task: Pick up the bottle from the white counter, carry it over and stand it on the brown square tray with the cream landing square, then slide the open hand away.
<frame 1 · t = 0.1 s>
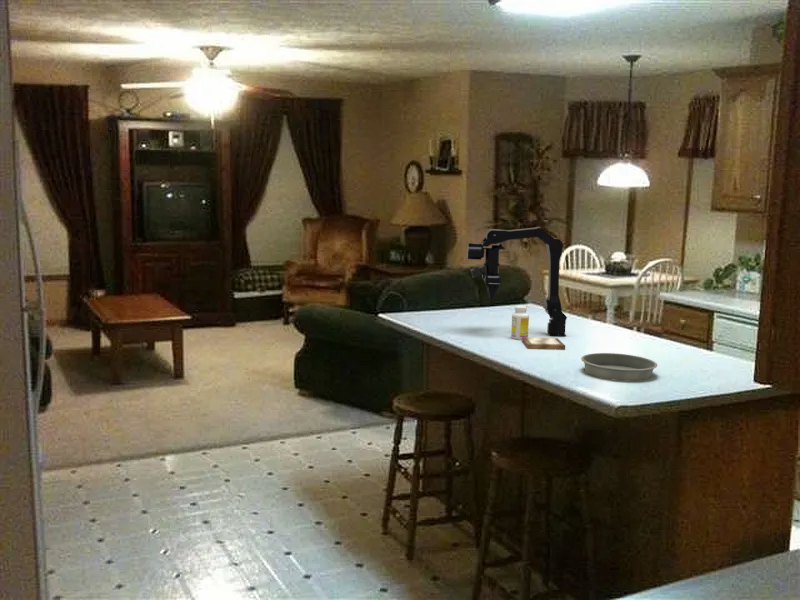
hand: (490, 298, 338), 14 cm above the table, fingers open, 9 cm apart
brown square tray: (543, 345, 318), on the table
supplement bottle: (519, 339, 331), on the table
cake pan: (618, 374, 276), on the table
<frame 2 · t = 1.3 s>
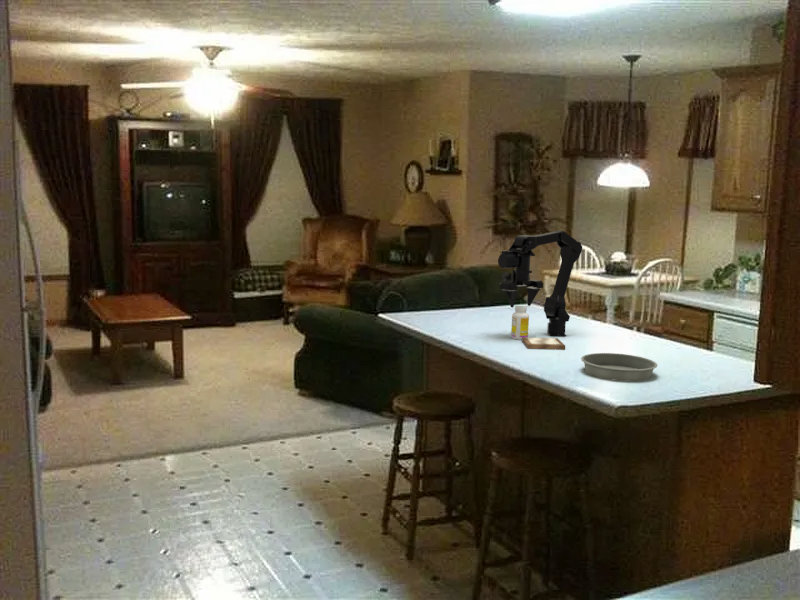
hand: (520, 306, 329), 13 cm above the table, fingers open, 9 cm apart
nothing on the table moved.
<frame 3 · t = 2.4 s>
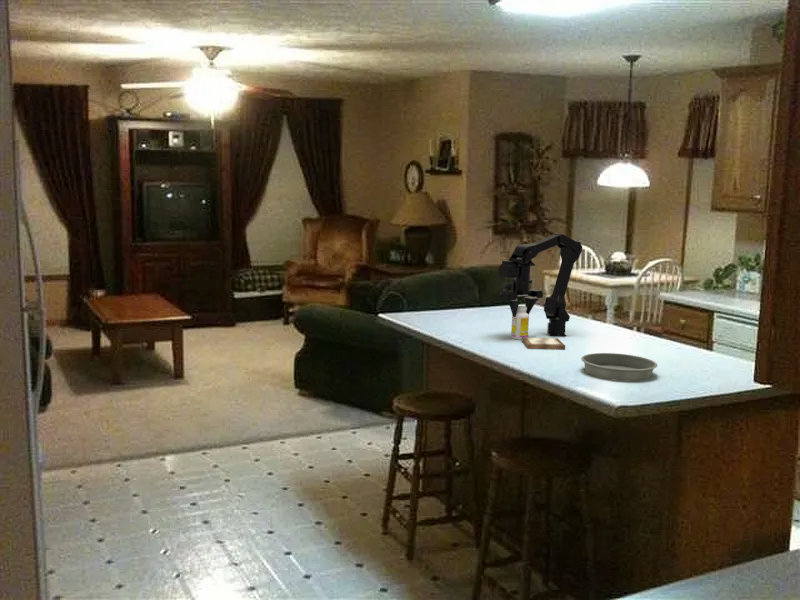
hand: (520, 316, 329), 9 cm above the table, fingers closed on supplement bottle, 7 cm apart
supplement bottle: (519, 338, 331), on the table, touching gripper
everything else where it was.
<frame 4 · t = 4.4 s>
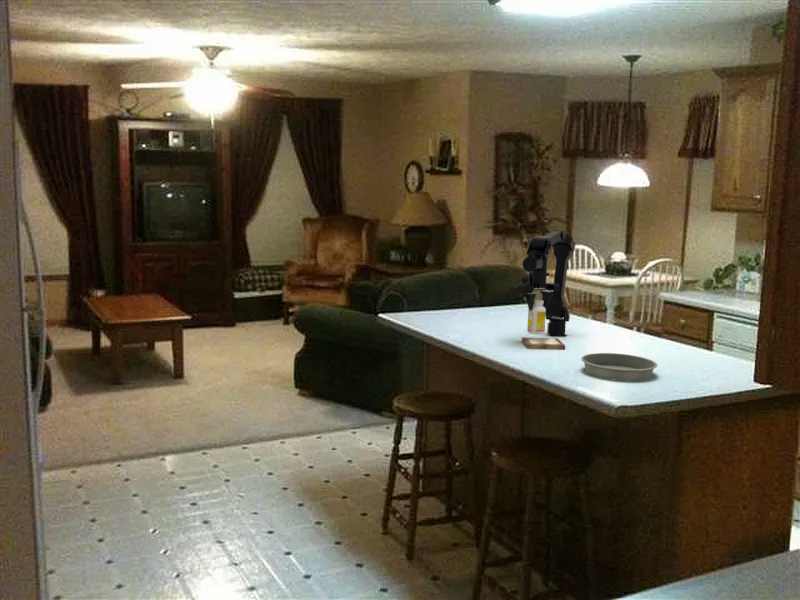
hand: (537, 310, 320), 13 cm above the table, fingers closed on supplement bottle, 7 cm apart
supplement bottle: (535, 333, 321), point 4 cm above the table, touching gripper
everything else where it was.
when the fingers open (12 cm above the table, at t = 6.0 s): supplement bottle stays where it is, resting on brown square tray.
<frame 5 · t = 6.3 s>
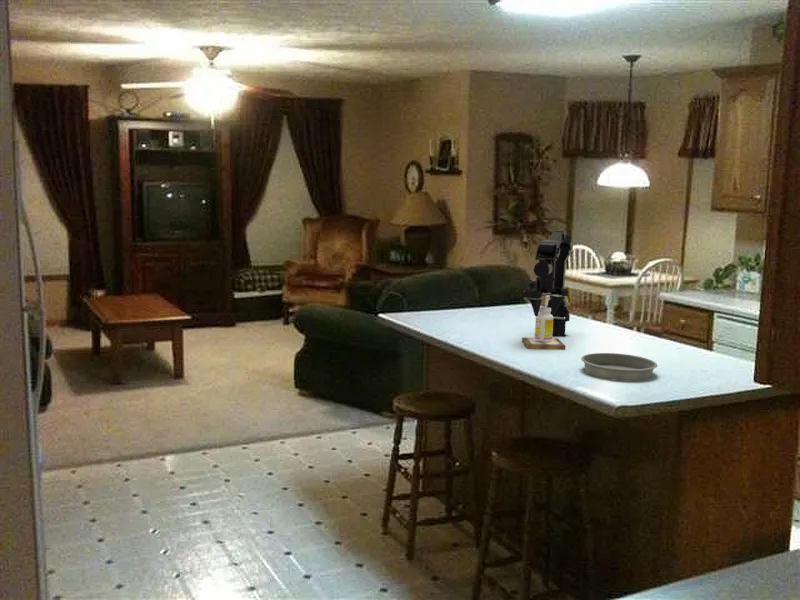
hand: (544, 315, 316), 12 cm above the table, fingers open, 9 cm apart
supplement bottle: (543, 341, 318), point 2 cm above the table, touching brown square tray
everything else where it was.
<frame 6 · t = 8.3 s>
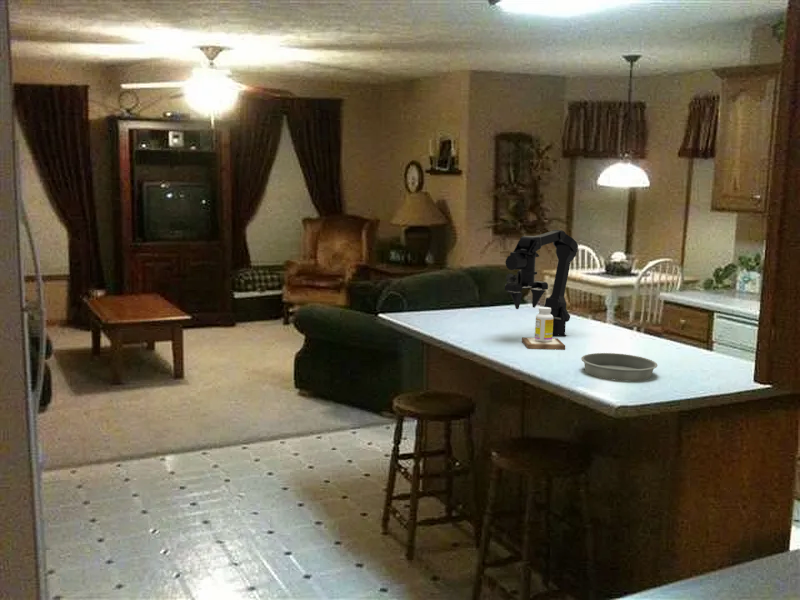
hand: (525, 308, 324), 13 cm above the table, fingers open, 9 cm apart
nothing on the table moved.
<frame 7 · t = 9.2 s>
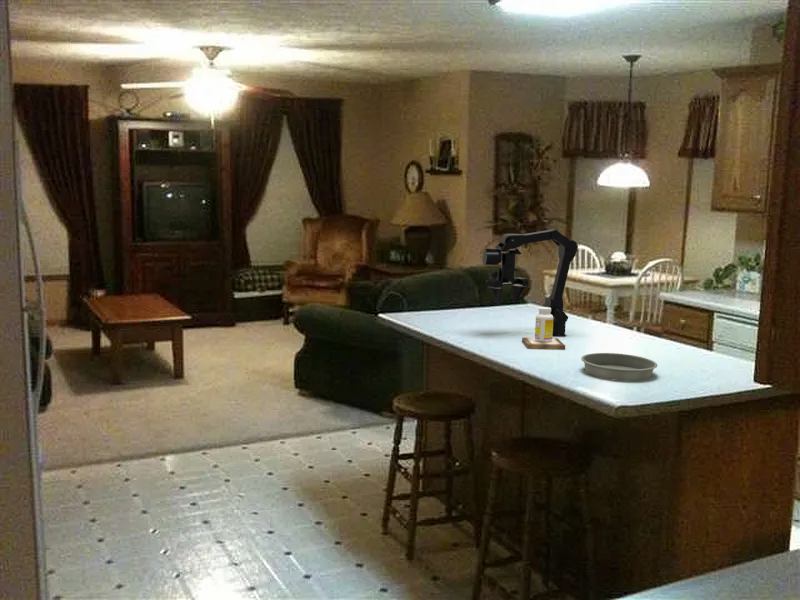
hand: (506, 303, 335), 13 cm above the table, fingers open, 9 cm apart
nothing on the table moved.
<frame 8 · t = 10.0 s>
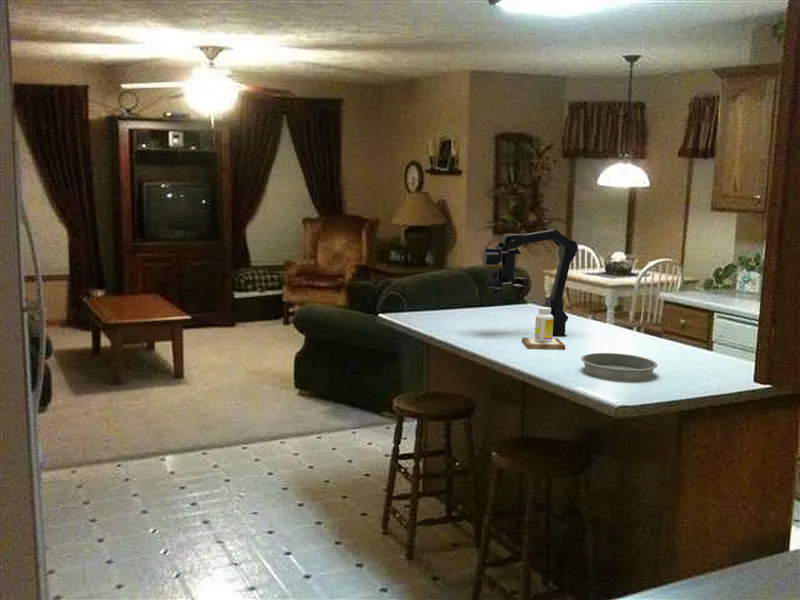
hand: (506, 303, 335), 13 cm above the table, fingers open, 9 cm apart
nothing on the table moved.
at the end: supplement bottle touching brown square tray; supplement bottle tilted 0° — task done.
